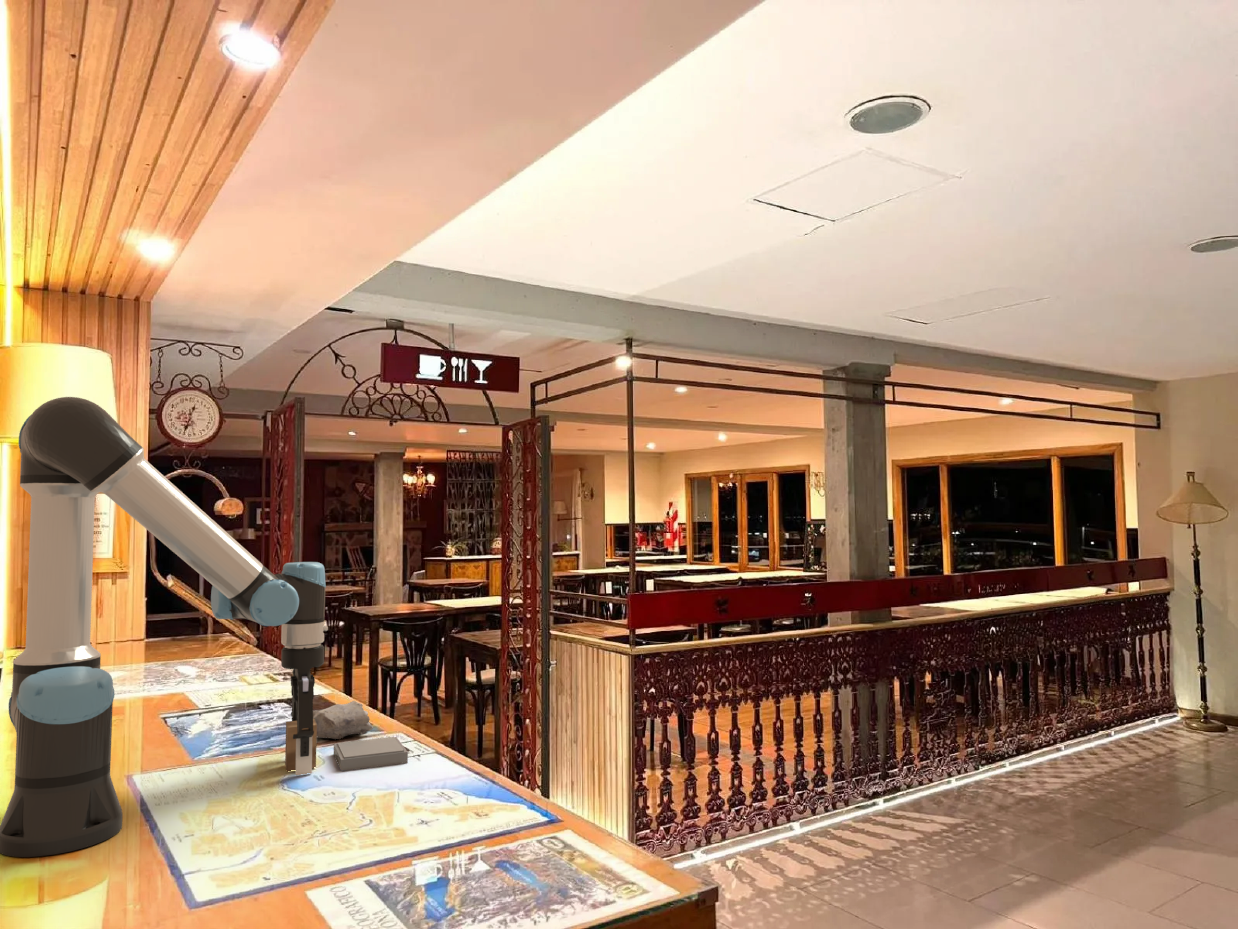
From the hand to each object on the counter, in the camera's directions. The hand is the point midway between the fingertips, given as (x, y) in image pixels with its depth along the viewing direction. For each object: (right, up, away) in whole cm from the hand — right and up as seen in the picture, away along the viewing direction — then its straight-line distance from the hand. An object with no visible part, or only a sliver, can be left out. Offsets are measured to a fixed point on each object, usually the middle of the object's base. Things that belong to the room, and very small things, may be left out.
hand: (301, 765), depth 156 cm
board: (+11, 0, +5) cm, 12 cm away
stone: (0, -2, +21) cm, 21 cm away
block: (0, 0, 0) cm, 0 cm away
